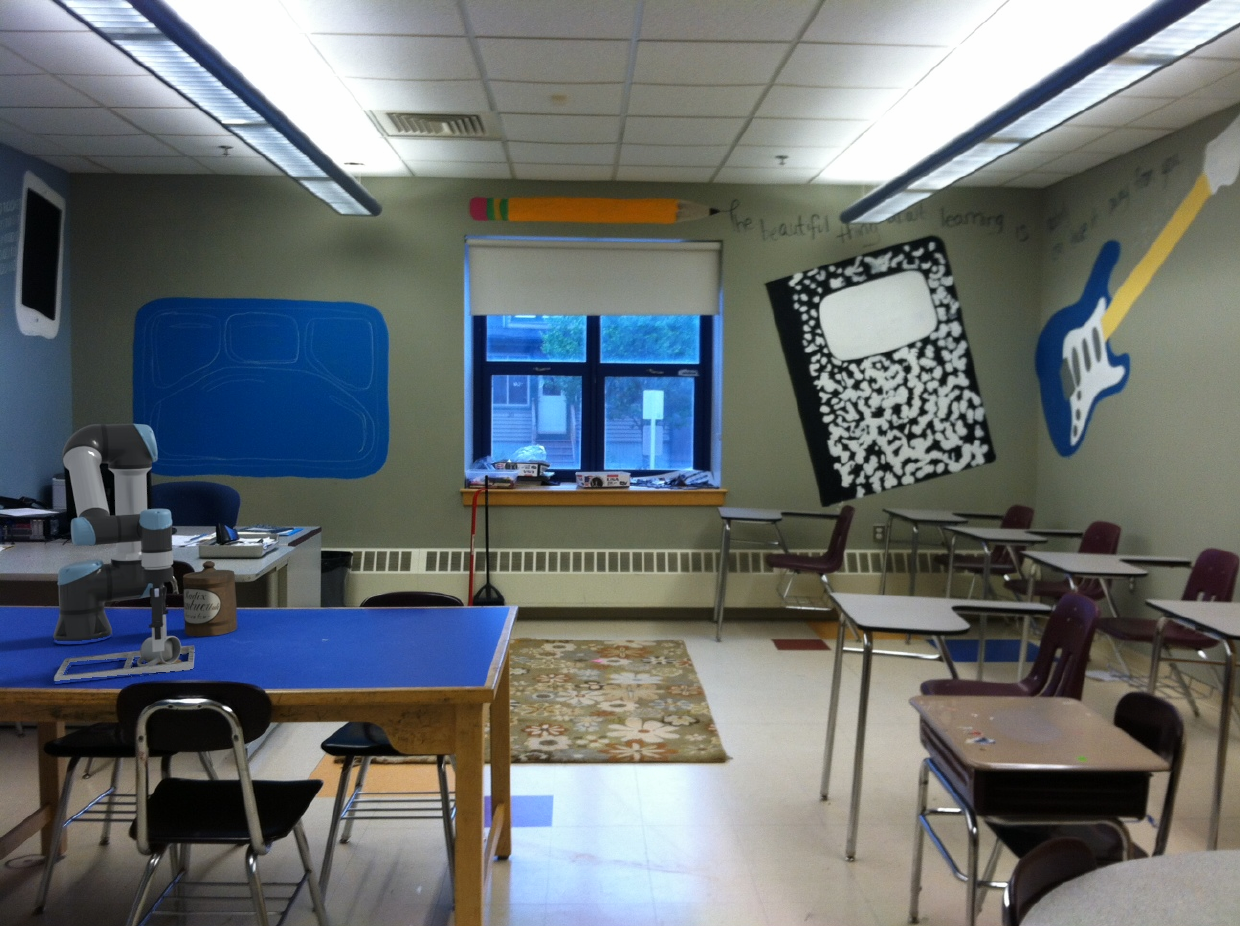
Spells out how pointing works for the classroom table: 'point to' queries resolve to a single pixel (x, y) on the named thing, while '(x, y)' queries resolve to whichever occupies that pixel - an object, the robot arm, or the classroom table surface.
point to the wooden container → (209, 602)
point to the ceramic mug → (160, 652)
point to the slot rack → (126, 665)
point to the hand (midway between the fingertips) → (159, 644)
